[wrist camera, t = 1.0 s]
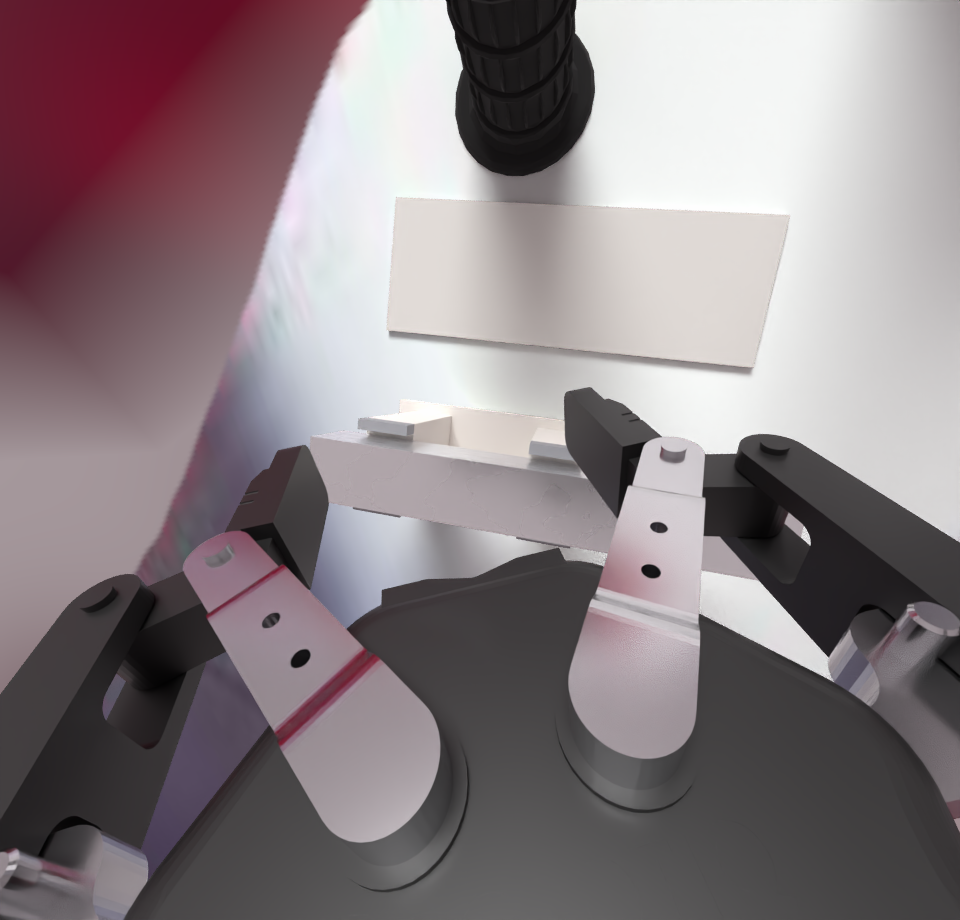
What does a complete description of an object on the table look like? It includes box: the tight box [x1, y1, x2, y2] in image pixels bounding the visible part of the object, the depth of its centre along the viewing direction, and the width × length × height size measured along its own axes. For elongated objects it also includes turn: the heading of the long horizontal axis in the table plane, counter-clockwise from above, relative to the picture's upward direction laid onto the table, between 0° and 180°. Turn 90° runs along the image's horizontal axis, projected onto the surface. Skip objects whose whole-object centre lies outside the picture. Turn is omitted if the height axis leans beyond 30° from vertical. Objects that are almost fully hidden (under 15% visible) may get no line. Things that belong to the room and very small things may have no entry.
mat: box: [386, 197, 790, 368], centre depth 30 cm, size 10×28×1 cm, turn 82°
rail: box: [310, 430, 804, 581], centre depth 21 cm, size 24×4×4 cm, turn 82°
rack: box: [353, 399, 577, 548], centre depth 28 cm, size 7×16×11 cm, turn 82°
